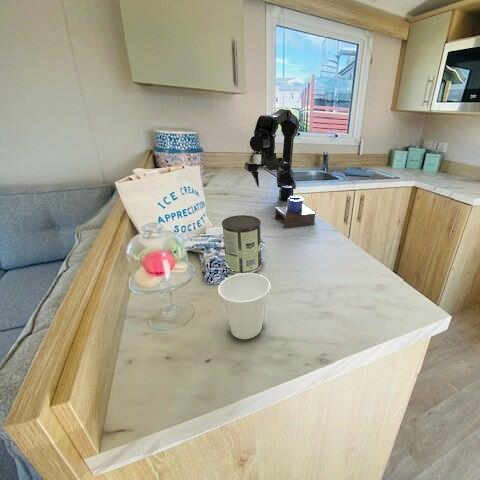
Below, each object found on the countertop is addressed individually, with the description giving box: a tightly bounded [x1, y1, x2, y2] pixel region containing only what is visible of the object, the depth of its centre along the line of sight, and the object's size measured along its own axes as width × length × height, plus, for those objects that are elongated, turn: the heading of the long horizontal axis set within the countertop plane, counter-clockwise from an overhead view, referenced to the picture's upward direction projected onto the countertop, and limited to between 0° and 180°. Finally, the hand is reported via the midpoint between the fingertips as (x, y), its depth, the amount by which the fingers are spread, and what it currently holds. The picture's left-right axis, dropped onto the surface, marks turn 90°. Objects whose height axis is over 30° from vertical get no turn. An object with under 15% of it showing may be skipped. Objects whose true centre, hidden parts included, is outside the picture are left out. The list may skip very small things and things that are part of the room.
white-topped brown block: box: [274, 204, 316, 229], centre depth 116 cm, size 13×12×5 cm
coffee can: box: [221, 214, 262, 275], centre depth 78 cm, size 10×10×14 cm
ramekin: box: [286, 195, 304, 213], centre depth 114 cm, size 6×6×5 cm
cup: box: [217, 272, 272, 340], centre depth 55 cm, size 10×10×11 cm
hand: (268, 186), depth 120 cm, fingers open, 9 cm apart
